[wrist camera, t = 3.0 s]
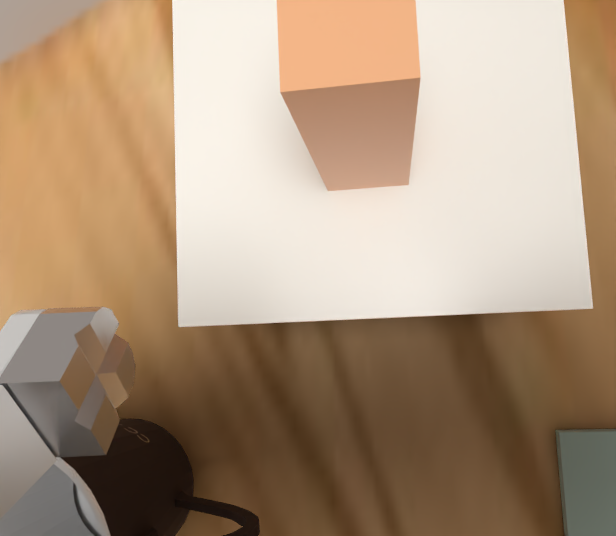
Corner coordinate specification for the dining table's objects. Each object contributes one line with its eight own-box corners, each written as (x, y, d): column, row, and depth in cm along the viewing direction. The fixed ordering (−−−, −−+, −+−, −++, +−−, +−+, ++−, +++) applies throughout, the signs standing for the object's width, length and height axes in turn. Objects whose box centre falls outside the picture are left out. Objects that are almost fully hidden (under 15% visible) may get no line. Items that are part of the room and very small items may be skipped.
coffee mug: (24, 531, 28) (-172, 641, 18) (88, 369, 29) (-71, 392, 19) (234, 637, 26) (139, 824, 16) (300, 461, 27) (246, 541, 17)
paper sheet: (180, -121, 22) (32, -430, 13) (536, -179, 20) (652, -587, 11) (189, 326, 20) (24, 328, 11) (581, 309, 18) (766, 294, 9)
